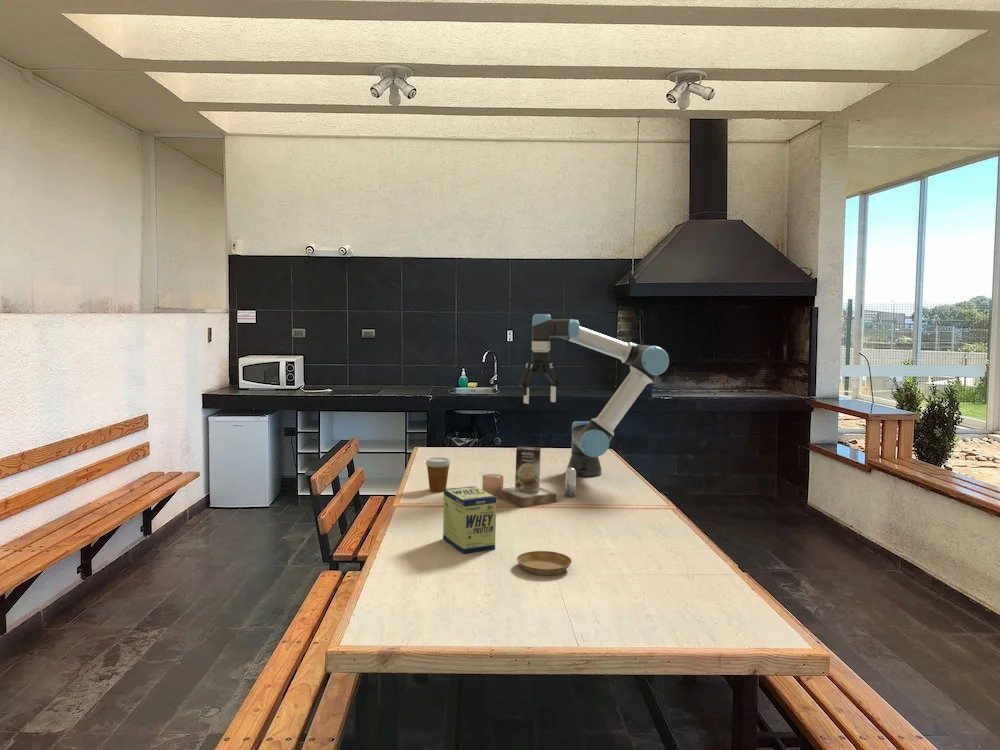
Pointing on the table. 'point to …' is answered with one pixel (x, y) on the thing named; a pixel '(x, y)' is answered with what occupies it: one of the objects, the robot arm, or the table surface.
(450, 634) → the table surface
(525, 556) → the plant saucer
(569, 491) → the salt shaker
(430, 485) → the disposable coffee cup
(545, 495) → the picture frame
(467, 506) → the protein box
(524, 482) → the coffee box
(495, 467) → the table surface
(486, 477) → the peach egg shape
